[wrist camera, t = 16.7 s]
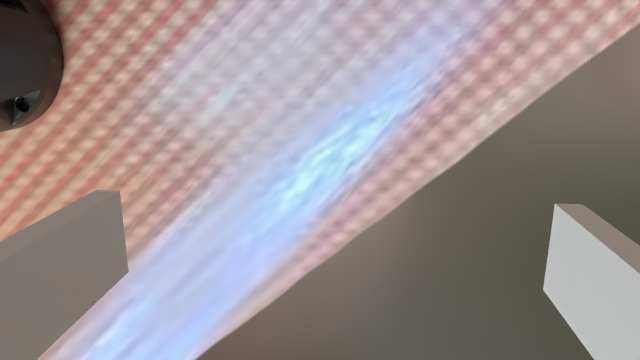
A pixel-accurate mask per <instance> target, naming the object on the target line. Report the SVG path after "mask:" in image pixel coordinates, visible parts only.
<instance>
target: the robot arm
mask: <svg viewBox="0 0 640 360" xmlns="http://www.w3.org/2000/svg"><path fill="white" fill-rule="evenodd" d="M61 76H62V51H61V46H60V41H59V38H58V34H57V32H56V29H55V26H54V24H53V22H52V20H51V18H50V16H49V15H48V13H47V11H46V10H45V8H44V7H43V5H42V4H41V3H40V2H39V0H0V132H4V131H8V130H12V129H16V128H20V127H23V126H25V125H28V124H30V123H31V122H33V121H35V120H36V119H37V118H39V117H40V116H41V115H42V114H43V113H44V112H45V111H46V110H47V109H48V107H49V106H50V105H51V103H52V102H53V100H54V98H55V96H56V94H57V91H58V88H59V85H60V81H61ZM127 273H128V263H127V253H126V244H125V235H124V226H123V217H122V207H121V198H120V191H104V190H96V191H94V192H92V193H90V194H88V195H87V196H85V197H83V198H81V199H79V200H77V201H75V202H73V203H72V204H70V205H68V206H66V207H64V208H62V209H60V210H59V211H57V212H55V213H53V214H51V215H49V216H47V217H46V218H44V219H42V220H40V221H38V222H36V223H34V224H32V225H31V226H29V227H27V228H25V229H23V230H21V231H19V232H18V233H16V234H14V235H12V236H10V237H8V238H6V239H5V240H3V241H1V242H0V360H37V359H38V358H39V357H40V356H41V355H42V354H43V353H44V352H45V351H46V350H47V349H48V348H49V347H50V346H51V345H52V344H53V343H54V342H55V341H56V340H58V339H59V338H60V337H61V336H62V335H63V334H64V333H65V332H66V331H67V330H68V329H69V328H70V327H71V326H72V325H73V324H74V323H75V322H76V321H77V320H78V319H80V318H81V317H82V316H83V315H84V314H85V313H86V312H87V311H88V310H89V309H90V308H91V307H92V306H93V305H94V304H95V303H96V302H97V301H98V300H99V299H100V298H102V297H103V296H104V295H105V294H106V293H107V292H108V291H109V290H110V289H111V288H112V287H113V286H114V285H115V284H116V283H117V282H118V281H119V280H120V279H121V278H122V277H124V276H125V275H126V274H127ZM543 290H544V291H545V293H546V294H547V296H548V297H549V298H550V300H551V301H552V302H553V303H554V305H555V306H556V308H557V309H558V311H559V312H560V313H561V315H562V316H563V317H564V319H565V320H566V321H567V323H568V324H569V325H570V327H571V328H572V330H573V331H574V332H575V334H576V335H577V336H578V338H579V339H580V341H581V342H582V343H583V345H584V346H585V347H586V349H587V350H588V351H589V353H590V354H591V355H592V357H593V358H594V360H640V246H639V245H637V244H636V243H635V242H633V241H632V240H631V239H629V238H628V237H626V236H625V235H624V234H622V233H621V232H619V231H618V230H617V229H615V228H614V227H613V226H611V225H610V224H609V223H607V222H606V221H605V220H603V219H602V218H600V217H599V216H598V215H596V214H595V213H593V212H592V211H590V210H589V209H588V208H587V207H585V206H584V205H582V204H555V208H554V215H553V222H552V230H551V237H550V244H549V252H548V259H547V266H546V274H545V281H544V288H543Z"/></svg>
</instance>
